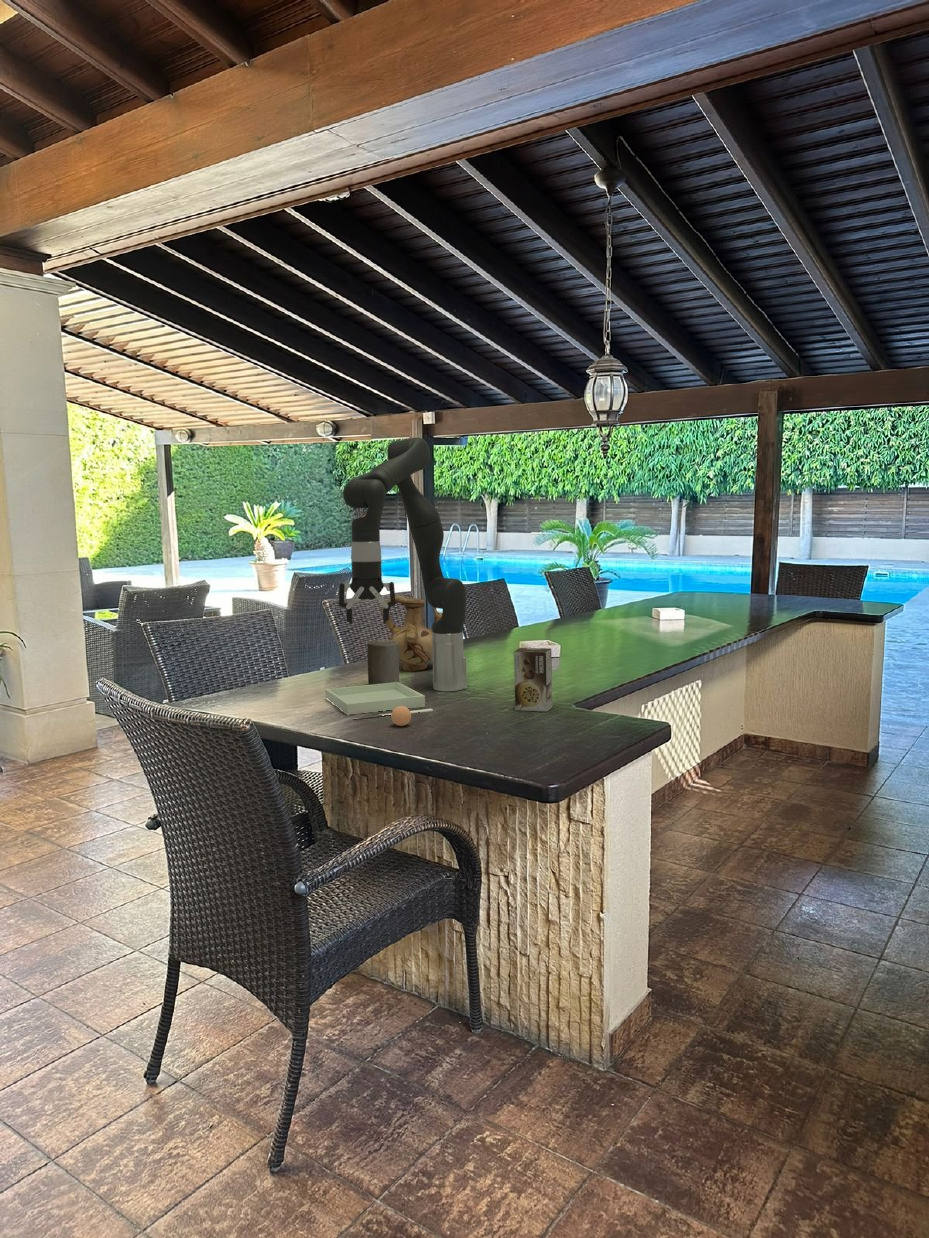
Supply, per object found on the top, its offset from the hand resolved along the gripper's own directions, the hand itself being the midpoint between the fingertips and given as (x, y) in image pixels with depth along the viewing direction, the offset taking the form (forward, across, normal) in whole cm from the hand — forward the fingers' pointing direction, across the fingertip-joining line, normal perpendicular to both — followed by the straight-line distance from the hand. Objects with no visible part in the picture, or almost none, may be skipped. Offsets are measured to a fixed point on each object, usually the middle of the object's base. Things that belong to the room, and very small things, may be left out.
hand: (367, 623), depth 224 cm
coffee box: (+25, -44, -6) cm, 51 cm away
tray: (+25, 0, -20) cm, 32 cm away
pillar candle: (+25, -3, -43) cm, 50 cm away
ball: (+23, -8, +7) cm, 25 cm away
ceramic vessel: (+25, -13, -70) cm, 76 cm away
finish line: (+25, -6, -5) cm, 26 cm away
